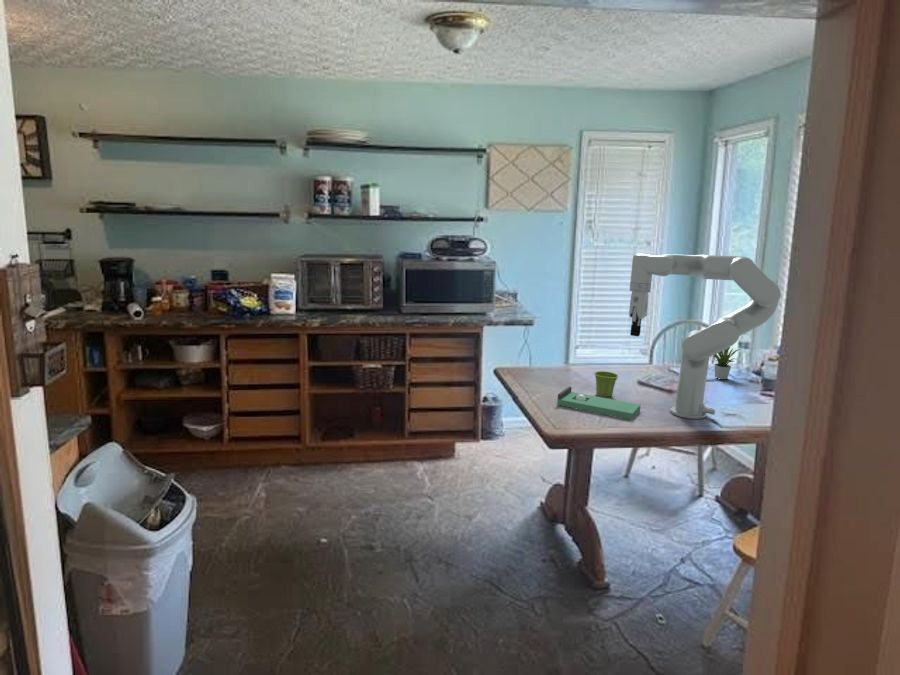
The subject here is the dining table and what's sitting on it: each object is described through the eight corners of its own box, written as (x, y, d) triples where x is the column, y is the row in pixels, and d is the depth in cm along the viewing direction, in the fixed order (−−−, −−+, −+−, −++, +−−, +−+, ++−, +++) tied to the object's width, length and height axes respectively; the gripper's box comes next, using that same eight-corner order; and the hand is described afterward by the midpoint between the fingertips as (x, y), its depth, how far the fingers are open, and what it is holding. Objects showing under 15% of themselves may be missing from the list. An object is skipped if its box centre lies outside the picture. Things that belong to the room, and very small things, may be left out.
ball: (589, 396, 248) (580, 391, 249) (585, 398, 244) (576, 393, 246) (584, 405, 249) (575, 400, 251) (581, 407, 246) (572, 402, 247)
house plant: (734, 375, 306) (739, 341, 302) (744, 383, 292) (749, 348, 289) (703, 373, 307) (707, 339, 304) (711, 381, 293) (716, 345, 290)
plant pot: (616, 393, 266) (618, 372, 264) (615, 399, 257) (618, 378, 255) (593, 390, 268) (595, 370, 267) (591, 396, 259) (593, 375, 258)
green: (639, 410, 244) (641, 399, 243) (631, 419, 233) (633, 408, 232) (568, 397, 257) (569, 386, 256) (557, 405, 246) (558, 394, 245)
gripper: (646, 290, 234) (640, 340, 238) (654, 286, 247) (649, 334, 251) (625, 288, 238) (620, 337, 241) (634, 284, 251) (629, 331, 254)
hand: (634, 335), depth 246 cm, fingers closed
